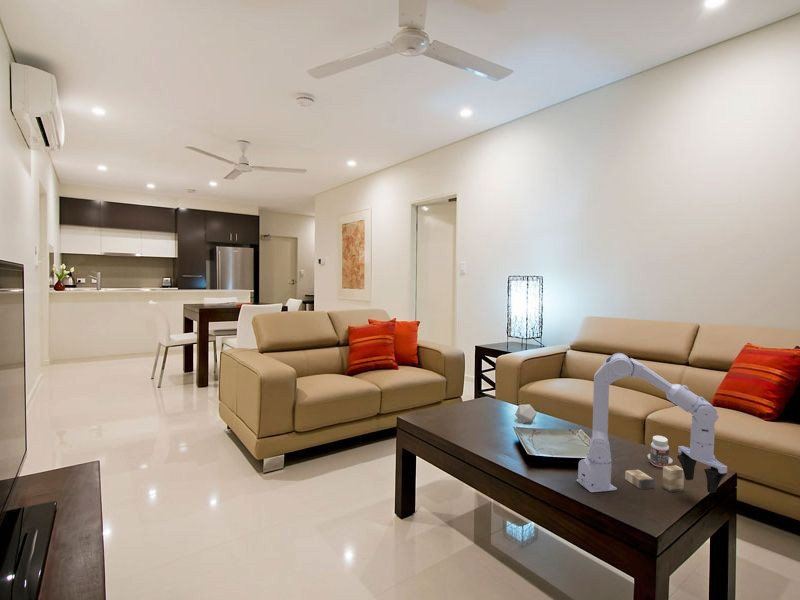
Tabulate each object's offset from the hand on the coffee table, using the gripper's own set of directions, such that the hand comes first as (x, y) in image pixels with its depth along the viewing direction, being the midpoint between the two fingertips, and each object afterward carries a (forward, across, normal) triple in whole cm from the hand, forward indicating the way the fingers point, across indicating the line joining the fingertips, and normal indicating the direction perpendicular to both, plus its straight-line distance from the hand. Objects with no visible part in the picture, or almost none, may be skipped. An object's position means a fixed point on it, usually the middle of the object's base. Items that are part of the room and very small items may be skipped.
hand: (700, 485), depth 123 cm
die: (+6, +76, +18) cm, 78 cm away
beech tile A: (+5, +11, +8) cm, 15 cm away
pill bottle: (+6, +26, -10) cm, 28 cm away
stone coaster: (+6, +30, -14) cm, 33 cm away
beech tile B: (+6, +10, 0) cm, 11 cm away
